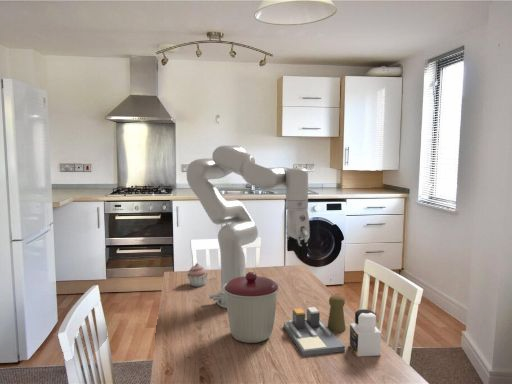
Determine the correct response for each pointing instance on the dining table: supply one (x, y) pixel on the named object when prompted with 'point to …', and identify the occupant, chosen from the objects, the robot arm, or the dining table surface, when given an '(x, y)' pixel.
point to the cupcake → (197, 275)
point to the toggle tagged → (298, 318)
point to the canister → (251, 307)
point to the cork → (336, 314)
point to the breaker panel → (314, 339)
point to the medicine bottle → (365, 334)
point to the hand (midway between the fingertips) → (296, 254)
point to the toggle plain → (313, 317)
